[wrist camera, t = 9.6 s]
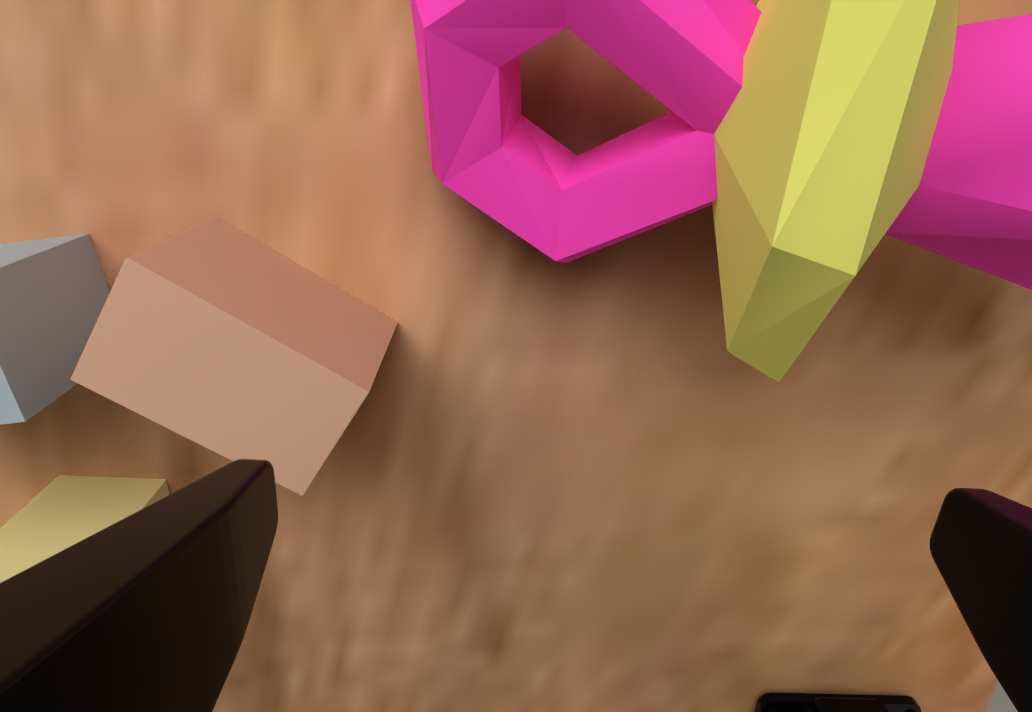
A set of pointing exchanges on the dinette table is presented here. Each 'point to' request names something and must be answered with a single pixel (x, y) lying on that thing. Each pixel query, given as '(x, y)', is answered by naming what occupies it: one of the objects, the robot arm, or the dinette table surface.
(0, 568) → the mustard brick
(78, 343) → the slate brick
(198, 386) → the terracotta brick
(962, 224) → the toy
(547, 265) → the dinette table surface
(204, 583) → the robot arm
